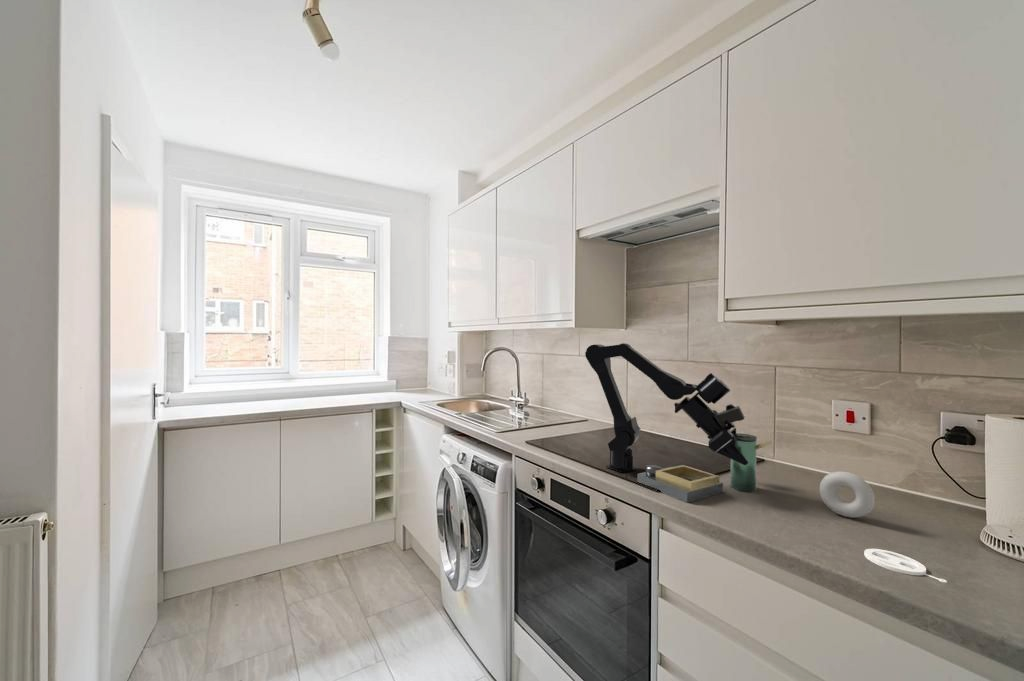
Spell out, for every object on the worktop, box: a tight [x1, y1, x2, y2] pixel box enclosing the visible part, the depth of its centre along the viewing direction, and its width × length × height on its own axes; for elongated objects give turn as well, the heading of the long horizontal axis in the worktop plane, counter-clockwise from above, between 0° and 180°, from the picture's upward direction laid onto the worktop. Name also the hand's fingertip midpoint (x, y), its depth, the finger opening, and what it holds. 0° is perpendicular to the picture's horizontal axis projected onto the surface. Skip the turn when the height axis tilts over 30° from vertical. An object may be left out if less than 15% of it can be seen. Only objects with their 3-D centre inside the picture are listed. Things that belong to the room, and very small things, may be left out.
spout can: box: [729, 432, 772, 493], centre depth 111 cm, size 10×6×14 cm, turn 61°
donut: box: [818, 470, 876, 519], centre depth 94 cm, size 10×4×10 cm, turn 39°
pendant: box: [863, 548, 948, 584], centre depth 73 cm, size 7×11×1 cm, turn 31°
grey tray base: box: [636, 464, 724, 503], centre depth 112 cm, size 16×14×4 cm
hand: (746, 459), depth 112 cm, fingers open, 9 cm apart
